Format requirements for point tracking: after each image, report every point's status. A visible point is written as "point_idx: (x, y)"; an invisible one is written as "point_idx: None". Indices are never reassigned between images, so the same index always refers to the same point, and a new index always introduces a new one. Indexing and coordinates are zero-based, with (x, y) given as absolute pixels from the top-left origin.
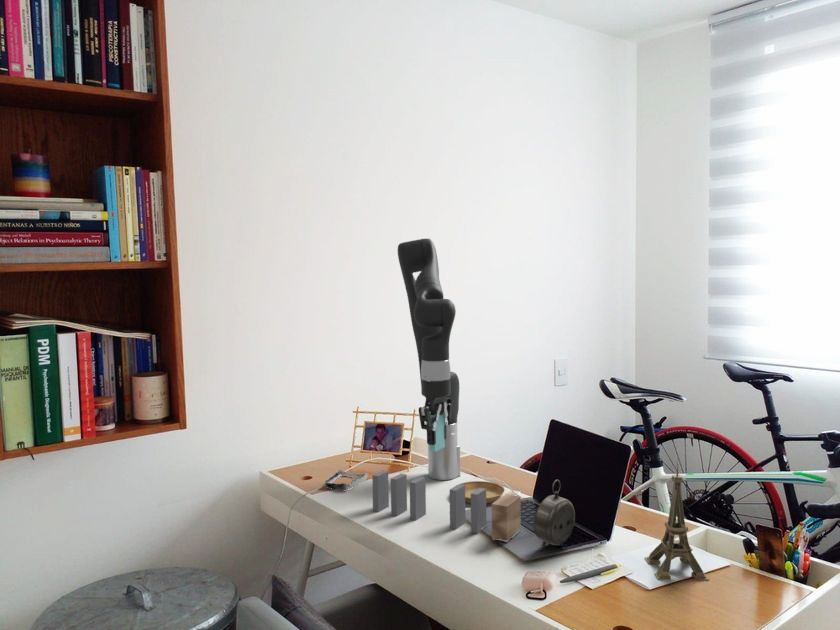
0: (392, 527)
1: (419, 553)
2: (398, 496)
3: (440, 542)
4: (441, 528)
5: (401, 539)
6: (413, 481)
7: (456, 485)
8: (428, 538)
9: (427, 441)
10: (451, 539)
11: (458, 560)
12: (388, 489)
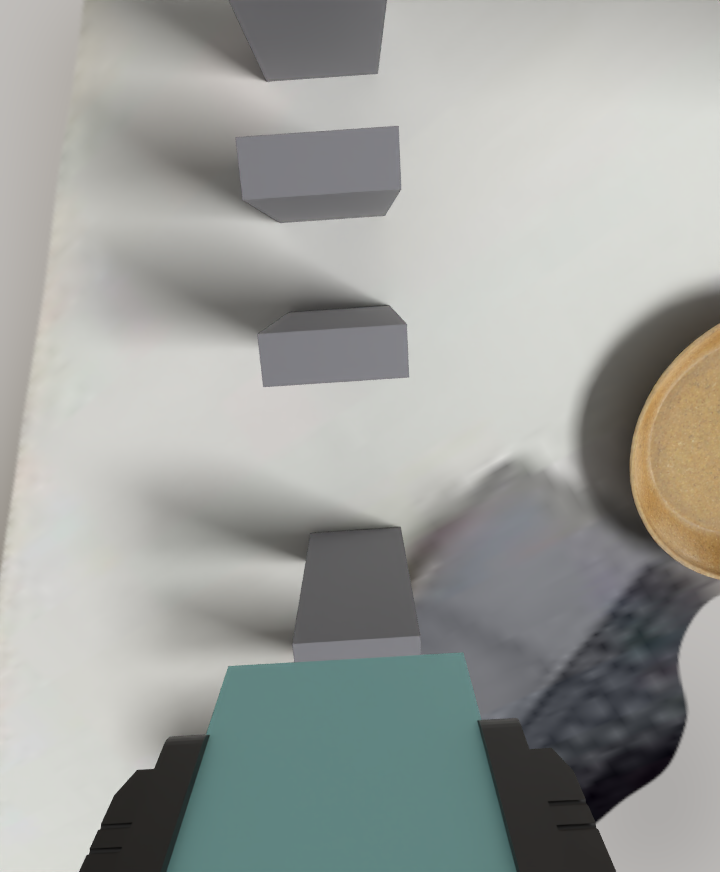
0: (147, 302)
1: (13, 573)
2: (287, 212)
3: (155, 581)
4: (283, 505)
5: (67, 429)
6: (286, 350)
7: (384, 638)
8: (155, 519)
9: (121, 794)
10: (209, 600)
11: (69, 714)
12: (381, 33)
